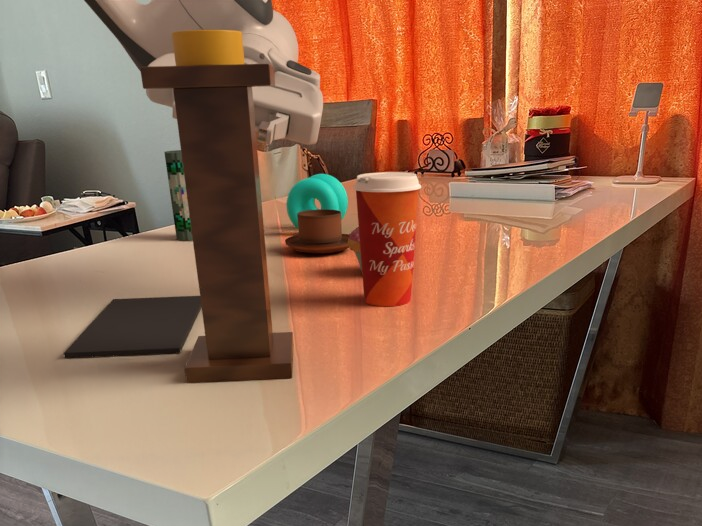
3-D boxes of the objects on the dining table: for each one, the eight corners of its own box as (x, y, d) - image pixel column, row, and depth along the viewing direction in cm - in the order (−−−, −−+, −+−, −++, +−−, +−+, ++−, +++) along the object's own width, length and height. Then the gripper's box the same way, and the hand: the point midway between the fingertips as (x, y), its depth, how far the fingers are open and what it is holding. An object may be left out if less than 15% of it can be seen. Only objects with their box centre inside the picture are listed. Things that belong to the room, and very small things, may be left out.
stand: (186, 383, 68) (139, 66, 55) (200, 349, 76) (162, 69, 64) (292, 378, 68) (269, 63, 56) (293, 345, 77) (274, 67, 64)
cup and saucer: (279, 247, 125) (276, 210, 122) (344, 241, 128) (343, 205, 125) (295, 260, 115) (292, 220, 112) (365, 254, 118) (364, 215, 115)
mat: (64, 358, 75) (63, 352, 75) (113, 303, 94) (112, 299, 94) (179, 353, 75) (179, 347, 75) (205, 299, 95) (204, 295, 94)
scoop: (199, 71, 72) (196, 43, 71) (255, 70, 72) (253, 42, 71) (170, 66, 56) (166, 30, 55) (242, 64, 57) (238, 29, 55)
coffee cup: (378, 312, 87) (377, 180, 80) (344, 298, 94) (340, 174, 86) (433, 301, 91) (436, 174, 84) (396, 289, 97) (396, 169, 90)
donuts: (350, 227, 142) (348, 173, 137) (337, 236, 133) (335, 179, 128) (302, 226, 144) (299, 173, 139) (286, 235, 135) (282, 178, 130)
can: (176, 241, 132) (164, 153, 125) (176, 236, 137) (164, 150, 130) (210, 239, 133) (199, 151, 126) (208, 234, 139) (198, 149, 131)
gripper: (164, 28, 84) (126, 67, 75) (333, 77, 86) (316, 120, 77) (163, 85, 89) (127, 127, 79) (323, 130, 91) (306, 177, 81)
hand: (221, 124), depth 78 cm, fingers open, 8 cm apart
